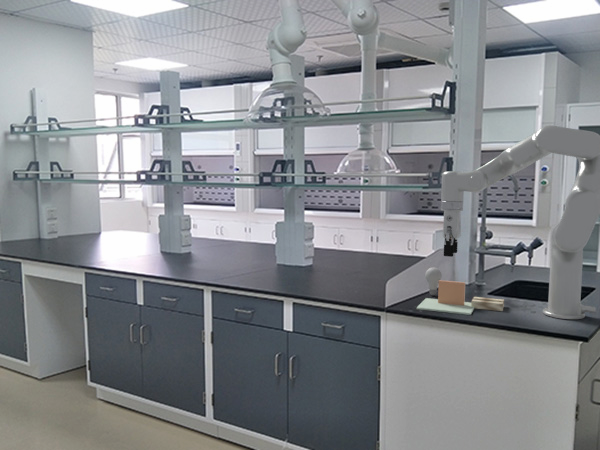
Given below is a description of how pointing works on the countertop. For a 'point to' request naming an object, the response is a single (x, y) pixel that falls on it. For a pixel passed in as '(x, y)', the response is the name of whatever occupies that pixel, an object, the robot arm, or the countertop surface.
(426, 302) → the mat
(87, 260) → the countertop surface
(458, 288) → the tile
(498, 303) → the stand
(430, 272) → the lightbulb
